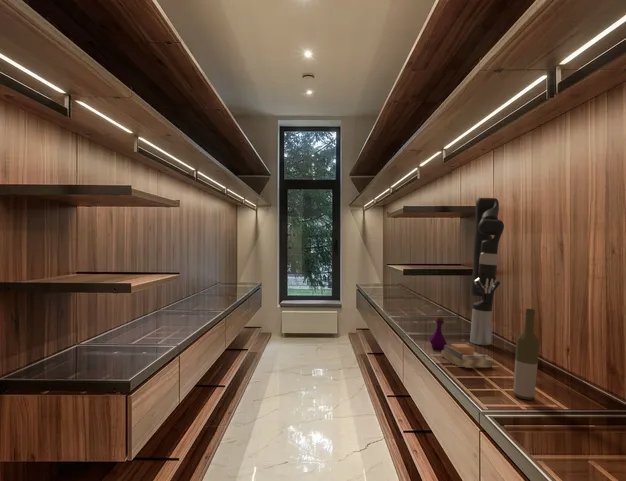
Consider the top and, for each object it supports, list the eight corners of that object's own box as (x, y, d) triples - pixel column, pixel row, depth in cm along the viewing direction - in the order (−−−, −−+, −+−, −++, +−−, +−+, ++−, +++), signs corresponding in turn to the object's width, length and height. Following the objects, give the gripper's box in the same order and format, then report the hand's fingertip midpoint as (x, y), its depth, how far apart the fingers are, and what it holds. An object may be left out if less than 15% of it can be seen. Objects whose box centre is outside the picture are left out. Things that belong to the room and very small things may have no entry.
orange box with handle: (466, 352, 174) (467, 342, 174) (473, 356, 169) (474, 345, 169) (450, 353, 172) (451, 342, 172) (457, 356, 167) (457, 345, 167)
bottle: (526, 393, 139) (533, 307, 138) (540, 401, 132) (547, 312, 132) (507, 392, 138) (514, 307, 138) (520, 401, 131) (527, 311, 131)
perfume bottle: (446, 351, 185) (449, 312, 185) (429, 349, 187) (432, 311, 187) (444, 346, 193) (447, 309, 192) (428, 344, 194) (431, 308, 194)
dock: (470, 356, 179) (471, 344, 179) (491, 367, 166) (492, 354, 166) (441, 356, 176) (441, 344, 176) (459, 367, 162) (460, 354, 162)
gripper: (480, 263, 176) (477, 302, 176) (506, 264, 179) (503, 303, 179) (470, 261, 183) (467, 299, 183) (495, 263, 186) (492, 300, 186)
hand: (485, 301), depth 181 cm, fingers closed
